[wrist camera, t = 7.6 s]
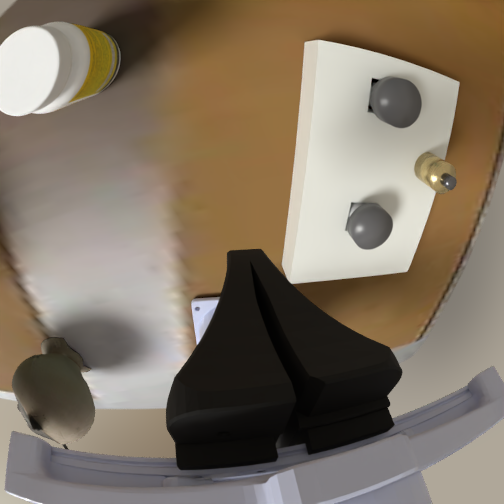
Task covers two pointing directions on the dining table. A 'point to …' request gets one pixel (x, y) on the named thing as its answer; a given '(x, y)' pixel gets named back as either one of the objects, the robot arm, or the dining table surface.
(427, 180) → the gold domed cylinder
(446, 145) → the mount block
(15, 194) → the dining table surface
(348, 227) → the knob
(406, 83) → the knob
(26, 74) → the supplement bottle
